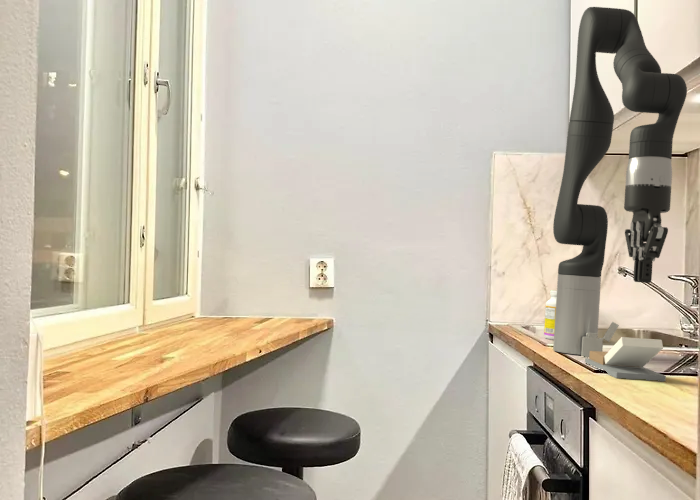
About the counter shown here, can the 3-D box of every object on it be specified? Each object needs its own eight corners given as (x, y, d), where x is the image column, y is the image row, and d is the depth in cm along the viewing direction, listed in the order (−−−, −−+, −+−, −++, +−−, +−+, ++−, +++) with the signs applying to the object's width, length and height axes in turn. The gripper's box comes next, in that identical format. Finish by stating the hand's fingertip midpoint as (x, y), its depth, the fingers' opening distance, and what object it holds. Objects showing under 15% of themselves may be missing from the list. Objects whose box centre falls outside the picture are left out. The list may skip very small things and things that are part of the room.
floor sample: (584, 363, 137) (585, 350, 137) (627, 366, 137) (628, 353, 137) (616, 378, 120) (617, 363, 120) (665, 381, 120) (666, 366, 120)
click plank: (605, 364, 128) (604, 356, 128) (643, 366, 128) (641, 358, 128) (622, 345, 120) (621, 337, 121) (663, 348, 120) (661, 339, 121)
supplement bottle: (569, 339, 184) (572, 291, 184) (570, 341, 178) (573, 292, 178) (543, 336, 186) (546, 289, 186) (543, 339, 179) (546, 290, 180)
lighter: (581, 357, 147) (583, 319, 147) (581, 356, 149) (583, 319, 149) (616, 360, 145) (619, 322, 145) (616, 359, 147) (618, 322, 147)
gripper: (612, 187, 129) (607, 279, 129) (642, 179, 115) (636, 282, 115) (653, 190, 129) (647, 282, 129) (687, 182, 115) (681, 285, 115)
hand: (642, 282), depth 122 cm, fingers closed
